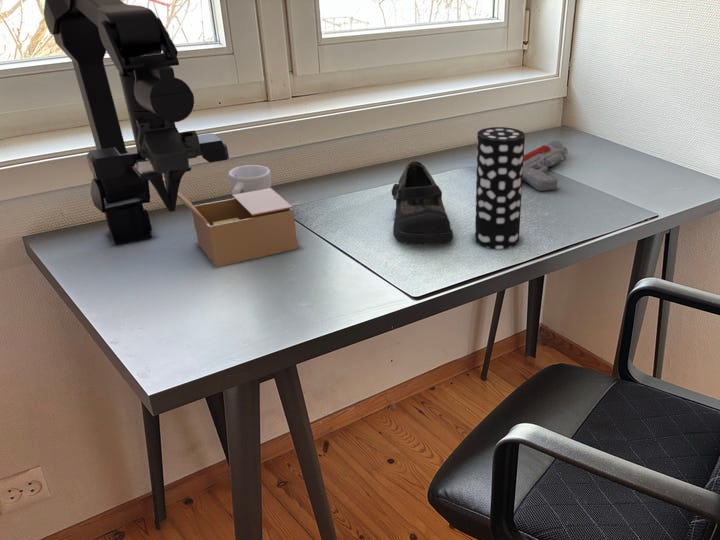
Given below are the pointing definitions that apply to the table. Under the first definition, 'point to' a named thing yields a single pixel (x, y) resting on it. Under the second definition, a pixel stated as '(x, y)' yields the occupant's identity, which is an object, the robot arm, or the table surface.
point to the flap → (189, 205)
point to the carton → (246, 227)
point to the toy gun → (542, 165)
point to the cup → (249, 178)
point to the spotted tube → (499, 186)
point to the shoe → (419, 208)
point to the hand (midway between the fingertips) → (171, 210)
